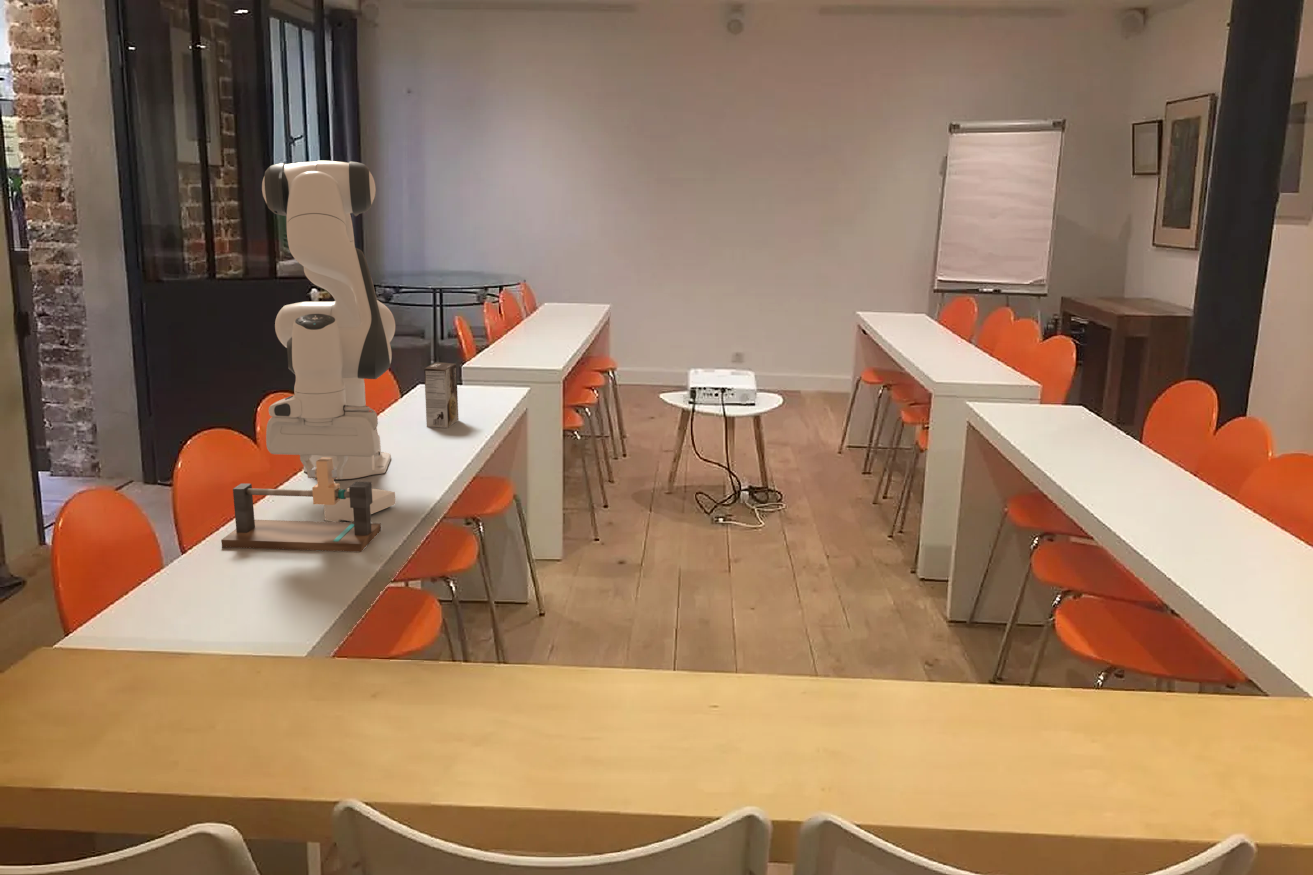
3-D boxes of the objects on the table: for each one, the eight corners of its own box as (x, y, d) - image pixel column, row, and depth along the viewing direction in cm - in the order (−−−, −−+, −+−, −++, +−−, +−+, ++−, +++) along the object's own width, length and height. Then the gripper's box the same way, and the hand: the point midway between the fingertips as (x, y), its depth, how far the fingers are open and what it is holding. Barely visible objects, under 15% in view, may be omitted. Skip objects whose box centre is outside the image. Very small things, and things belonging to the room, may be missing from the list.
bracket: (352, 526, 216) (350, 489, 214) (324, 521, 219) (322, 484, 217) (395, 508, 227) (393, 473, 225) (368, 503, 230) (366, 468, 228)
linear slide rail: (249, 526, 214) (245, 472, 211) (381, 530, 212) (378, 475, 210) (221, 547, 202) (216, 490, 200) (361, 551, 201) (357, 494, 198)
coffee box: (436, 419, 305) (434, 361, 301) (459, 420, 304) (457, 362, 300) (425, 427, 296) (423, 367, 293) (448, 428, 296) (446, 368, 292)
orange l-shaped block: (319, 499, 207) (316, 457, 205) (340, 499, 207) (337, 457, 205) (313, 504, 204) (310, 461, 202) (334, 504, 204) (331, 462, 202)
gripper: (382, 402, 203) (385, 474, 207) (273, 399, 205) (279, 471, 208) (371, 409, 197) (375, 484, 201) (259, 407, 198) (265, 481, 202)
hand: (325, 477), depth 204 cm, fingers open, 3 cm apart
